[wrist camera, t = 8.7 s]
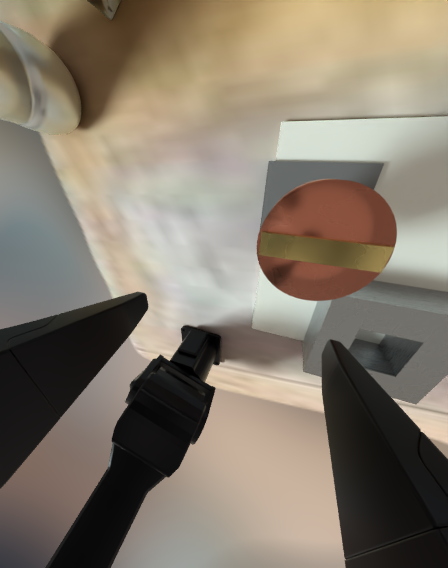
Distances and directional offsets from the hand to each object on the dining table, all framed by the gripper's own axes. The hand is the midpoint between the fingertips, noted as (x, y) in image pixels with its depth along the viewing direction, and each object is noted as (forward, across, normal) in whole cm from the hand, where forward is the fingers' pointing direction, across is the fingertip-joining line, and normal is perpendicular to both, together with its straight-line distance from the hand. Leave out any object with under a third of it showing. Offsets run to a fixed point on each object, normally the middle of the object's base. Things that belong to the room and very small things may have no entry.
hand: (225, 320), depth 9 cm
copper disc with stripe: (+12, -4, -3) cm, 13 cm away
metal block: (+12, -12, +6) cm, 18 cm away
